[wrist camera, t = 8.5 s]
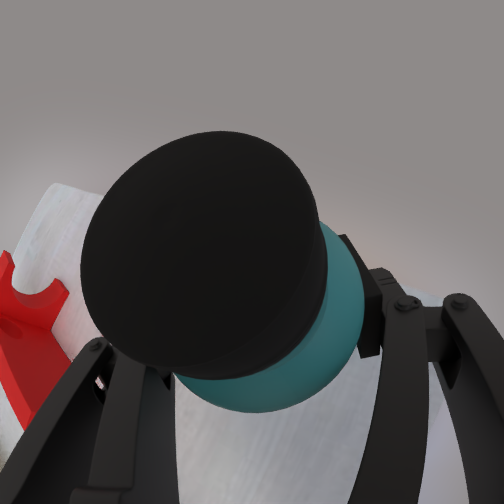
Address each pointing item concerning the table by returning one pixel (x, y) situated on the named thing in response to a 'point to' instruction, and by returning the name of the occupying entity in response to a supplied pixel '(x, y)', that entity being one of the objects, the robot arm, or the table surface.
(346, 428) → the table surface
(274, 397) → the beverage bottle
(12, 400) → the bracket
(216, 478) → the table surface
